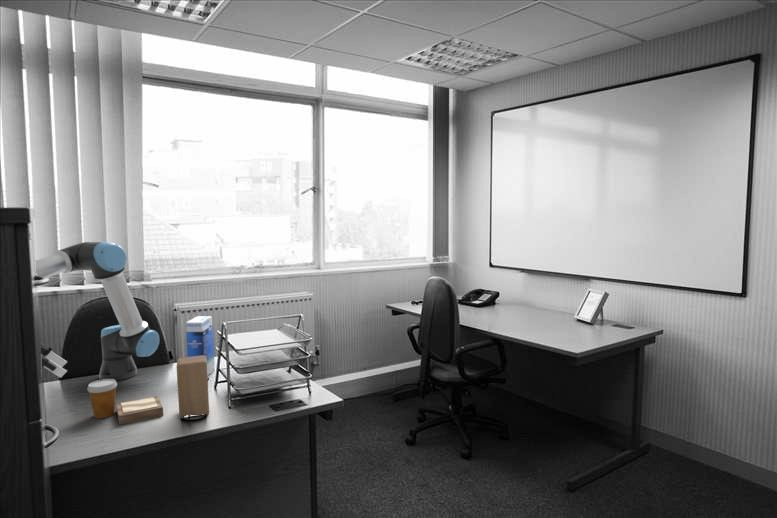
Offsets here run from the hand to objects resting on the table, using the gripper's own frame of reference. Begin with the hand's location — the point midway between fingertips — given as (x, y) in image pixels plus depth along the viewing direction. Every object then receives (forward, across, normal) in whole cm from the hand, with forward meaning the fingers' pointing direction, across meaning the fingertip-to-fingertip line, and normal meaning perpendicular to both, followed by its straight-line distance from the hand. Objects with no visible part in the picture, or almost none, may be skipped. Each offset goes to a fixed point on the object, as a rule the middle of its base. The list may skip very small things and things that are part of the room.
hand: (64, 369), depth 174 cm
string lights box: (+49, -28, +23) cm, 61 cm away
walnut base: (+29, +6, +2) cm, 30 cm away
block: (+41, +16, +14) cm, 47 cm away
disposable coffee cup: (+22, 0, -6) cm, 22 cm away
